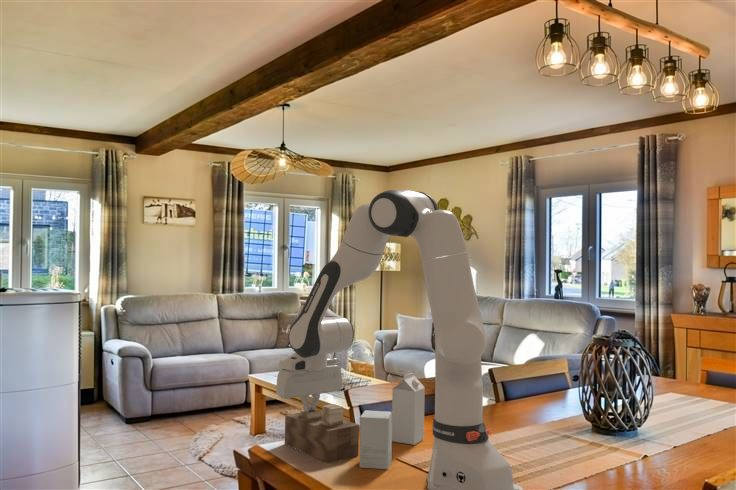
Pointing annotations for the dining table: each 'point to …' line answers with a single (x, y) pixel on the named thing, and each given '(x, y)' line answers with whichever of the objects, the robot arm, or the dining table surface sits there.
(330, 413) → the birch peg near
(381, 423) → the supplement box
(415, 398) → the milk carton
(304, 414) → the birch peg far
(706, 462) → the dining table surface
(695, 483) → the dining table surface
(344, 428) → the walnut block
